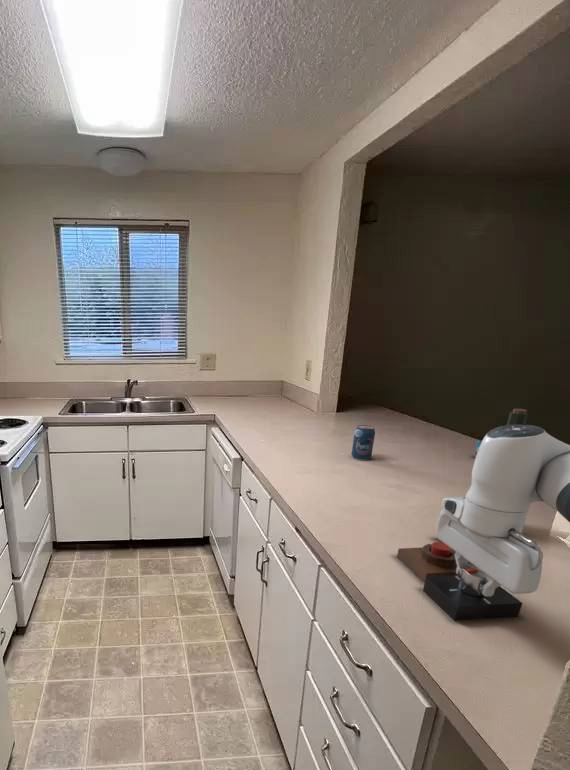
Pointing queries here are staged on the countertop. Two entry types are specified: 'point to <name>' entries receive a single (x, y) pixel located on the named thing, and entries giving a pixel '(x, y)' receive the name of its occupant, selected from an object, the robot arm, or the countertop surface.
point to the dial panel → (470, 600)
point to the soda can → (363, 442)
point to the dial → (472, 580)
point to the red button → (441, 549)
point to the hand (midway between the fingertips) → (473, 584)
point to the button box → (428, 562)
